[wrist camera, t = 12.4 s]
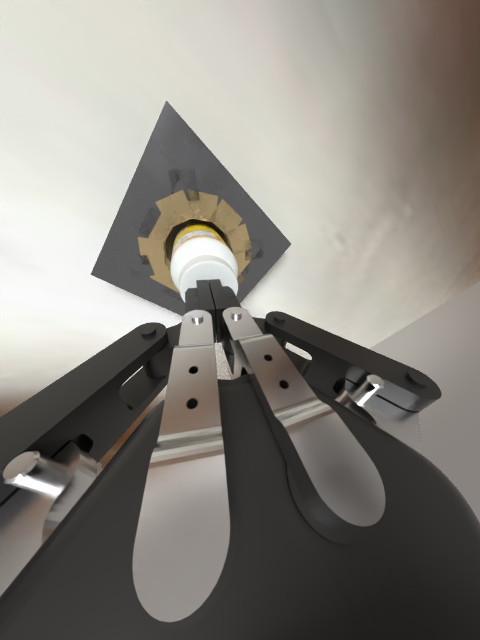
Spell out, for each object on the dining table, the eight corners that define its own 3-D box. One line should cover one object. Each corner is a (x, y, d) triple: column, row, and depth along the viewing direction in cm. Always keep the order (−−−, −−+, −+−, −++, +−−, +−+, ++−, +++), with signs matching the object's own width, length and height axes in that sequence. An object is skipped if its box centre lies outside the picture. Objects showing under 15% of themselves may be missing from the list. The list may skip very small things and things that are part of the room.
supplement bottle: (168, 222, 17) (156, 250, 9) (222, 221, 18) (249, 245, 10) (179, 275, 20) (177, 326, 13) (224, 271, 21) (246, 316, 14)
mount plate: (169, 113, 13) (166, 100, 11) (281, 238, 20) (291, 244, 18) (101, 264, 17) (90, 274, 15) (213, 319, 25) (215, 330, 23)
